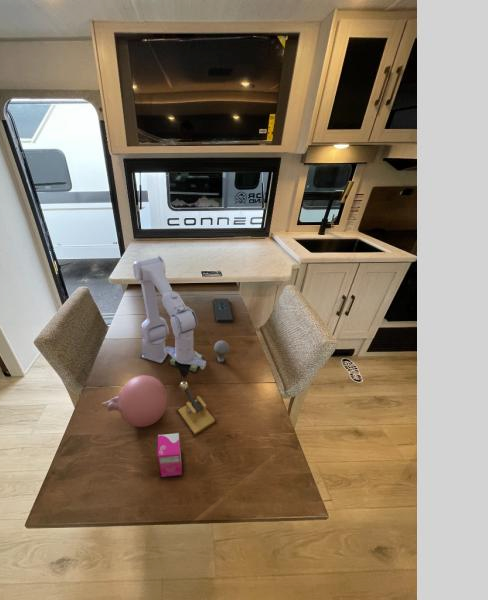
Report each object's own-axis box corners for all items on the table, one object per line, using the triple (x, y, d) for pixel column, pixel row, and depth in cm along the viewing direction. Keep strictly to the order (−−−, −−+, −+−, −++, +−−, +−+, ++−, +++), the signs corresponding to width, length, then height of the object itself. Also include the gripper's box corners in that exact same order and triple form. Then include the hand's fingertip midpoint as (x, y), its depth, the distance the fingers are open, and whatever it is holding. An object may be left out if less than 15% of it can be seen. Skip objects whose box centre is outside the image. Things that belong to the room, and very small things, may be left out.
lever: (177, 385, 90) (178, 382, 88) (184, 381, 91) (186, 378, 89) (193, 415, 85) (195, 412, 83) (201, 410, 86) (203, 407, 84)
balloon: (109, 401, 93) (101, 370, 85) (166, 392, 96) (163, 362, 88) (105, 443, 80) (95, 412, 72) (170, 432, 83) (168, 401, 75)
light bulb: (227, 366, 107) (229, 348, 102) (212, 364, 108) (213, 346, 103) (228, 356, 112) (230, 338, 106) (214, 354, 113) (215, 336, 108)
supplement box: (160, 456, 77) (158, 433, 71) (180, 454, 78) (180, 432, 71) (160, 478, 72) (157, 456, 66) (182, 476, 73) (181, 454, 67)
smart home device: (228, 298, 148) (233, 319, 131) (227, 300, 149) (233, 322, 132) (213, 298, 148) (216, 319, 131) (213, 300, 149) (216, 322, 132)
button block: (170, 364, 108) (169, 357, 106) (178, 351, 114) (178, 344, 112) (195, 372, 104) (195, 365, 102) (202, 358, 111) (202, 351, 109)
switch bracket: (178, 411, 90) (177, 398, 86) (197, 400, 93) (197, 387, 90) (194, 435, 83) (194, 422, 79) (214, 422, 86) (215, 409, 83)
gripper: (210, 344, 82) (209, 375, 90) (171, 330, 88) (173, 360, 96) (200, 359, 77) (199, 390, 84) (159, 343, 83) (162, 373, 90)
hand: (185, 375), depth 90 cm, fingers closed
